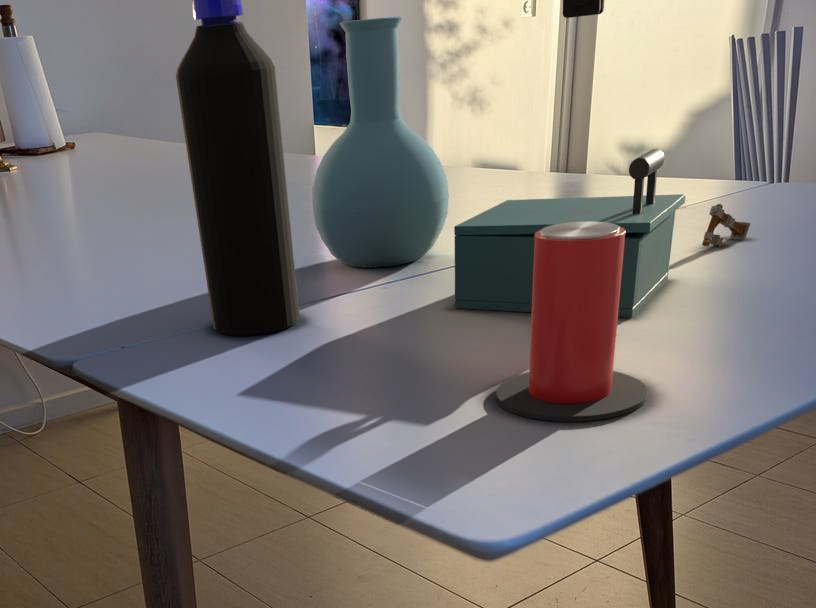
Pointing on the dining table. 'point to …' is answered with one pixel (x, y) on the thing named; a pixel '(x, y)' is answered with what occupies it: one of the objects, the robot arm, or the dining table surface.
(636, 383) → the coaster
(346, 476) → the dining table surface
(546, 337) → the can
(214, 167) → the bottle
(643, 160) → the lid
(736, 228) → the wooden post with brackets
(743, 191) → the dining table surface
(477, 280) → the teal rectangular open box
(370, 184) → the vase
